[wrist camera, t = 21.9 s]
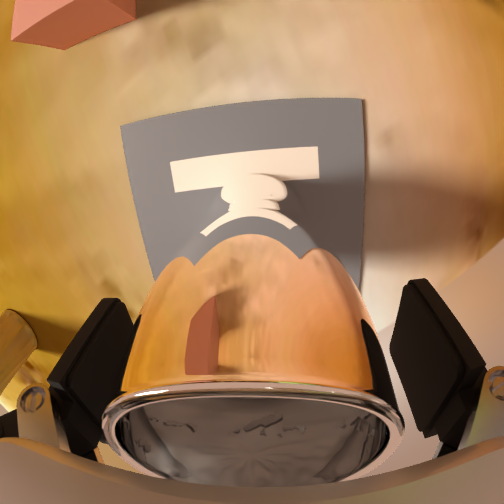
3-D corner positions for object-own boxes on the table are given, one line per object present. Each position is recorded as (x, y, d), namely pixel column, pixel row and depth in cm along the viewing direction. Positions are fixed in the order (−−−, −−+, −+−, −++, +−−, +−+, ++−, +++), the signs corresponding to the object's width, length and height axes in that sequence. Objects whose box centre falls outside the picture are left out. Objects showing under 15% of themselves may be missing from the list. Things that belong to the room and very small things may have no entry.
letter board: (359, 99, 15) (361, 98, 15) (355, 303, 21) (356, 306, 21) (122, 125, 16) (120, 126, 16) (168, 316, 22) (167, 320, 22)
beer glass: (327, 240, 19) (421, 460, 5) (237, 284, 20) (214, 506, 7) (279, 146, 16) (383, 288, 3) (181, 201, 18) (37, 404, 4)
